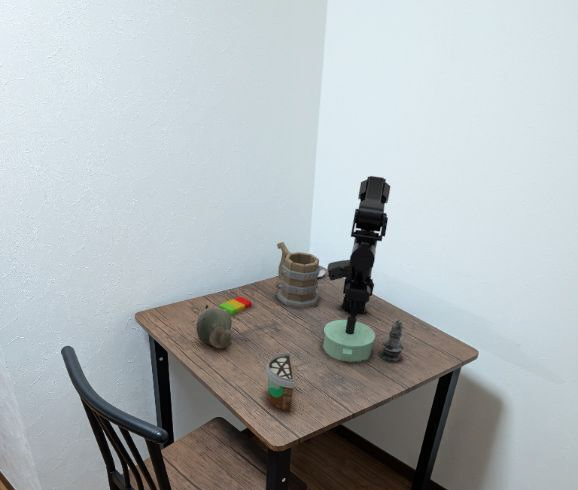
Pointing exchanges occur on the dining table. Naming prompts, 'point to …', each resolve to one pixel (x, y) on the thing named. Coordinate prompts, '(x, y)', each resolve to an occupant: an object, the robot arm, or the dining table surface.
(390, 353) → the dark grey tall piece
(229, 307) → the popsicle
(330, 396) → the dining table surface
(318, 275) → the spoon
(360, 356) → the pot
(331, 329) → the pot lid
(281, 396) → the food container
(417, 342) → the dining table surface
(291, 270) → the tankard
